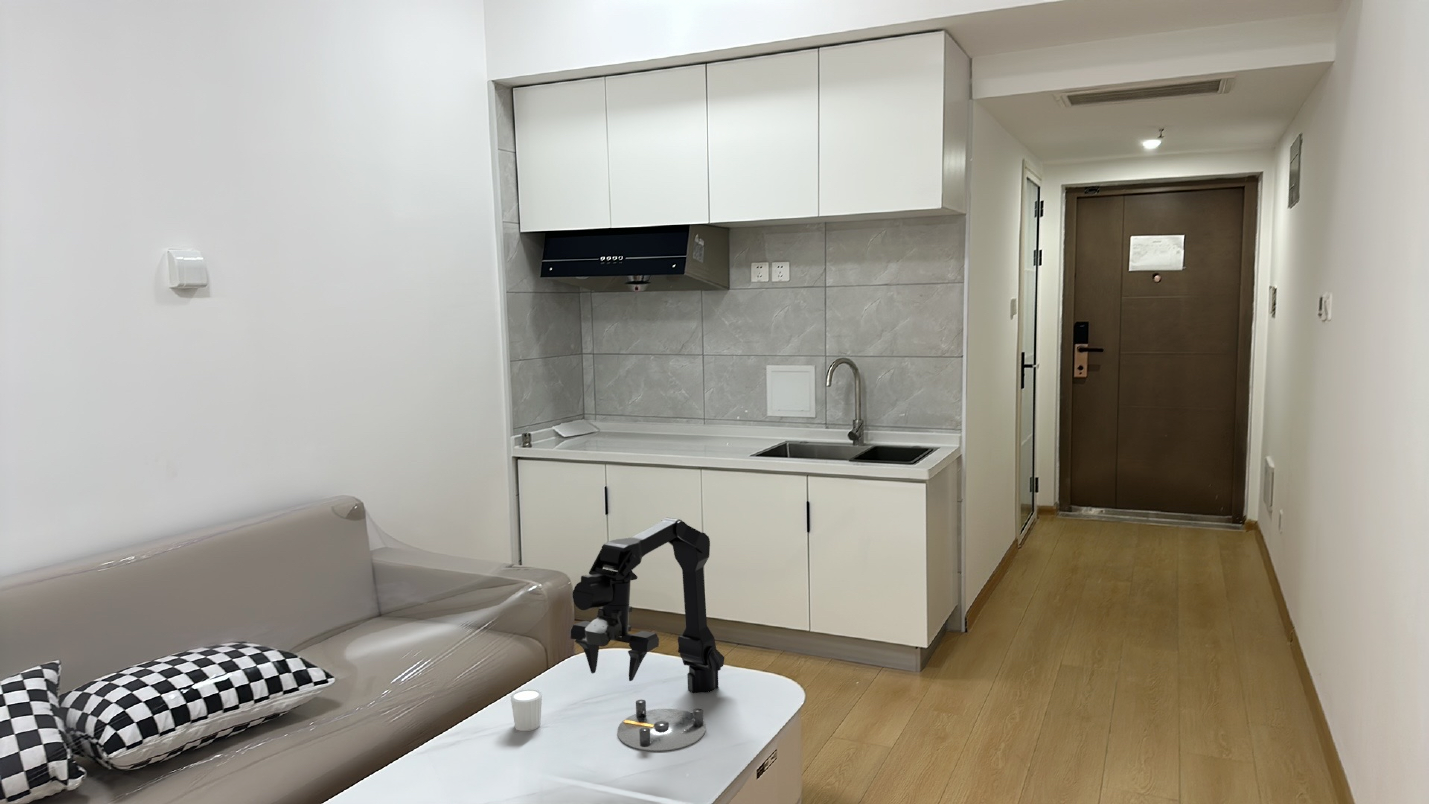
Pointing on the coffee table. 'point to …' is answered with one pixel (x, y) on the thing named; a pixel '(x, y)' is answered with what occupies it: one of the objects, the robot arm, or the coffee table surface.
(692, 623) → the robot arm
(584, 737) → the coffee table surface
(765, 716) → the coffee table surface
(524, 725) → the shot glass
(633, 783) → the coffee table surface
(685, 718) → the capstan dial
